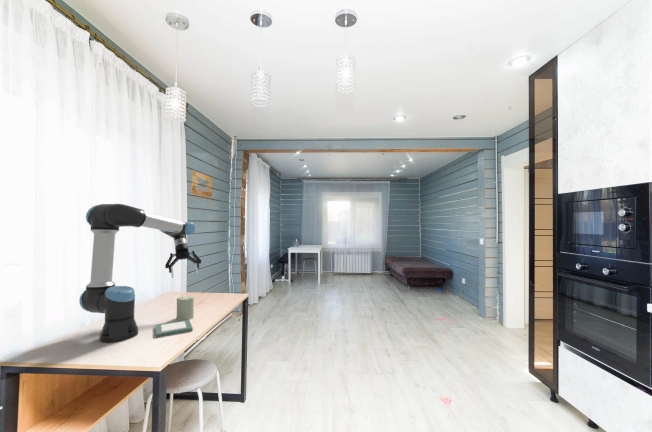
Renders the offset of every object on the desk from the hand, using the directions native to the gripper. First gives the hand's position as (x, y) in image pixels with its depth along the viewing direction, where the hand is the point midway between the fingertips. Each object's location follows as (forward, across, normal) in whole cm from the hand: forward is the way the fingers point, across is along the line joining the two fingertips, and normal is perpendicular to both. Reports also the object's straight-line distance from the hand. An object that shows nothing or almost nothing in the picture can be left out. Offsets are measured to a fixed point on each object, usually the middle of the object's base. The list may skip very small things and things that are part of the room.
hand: (185, 274), depth 175 cm
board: (+34, +9, +6) cm, 36 cm away
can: (+23, +2, -9) cm, 25 cm away
